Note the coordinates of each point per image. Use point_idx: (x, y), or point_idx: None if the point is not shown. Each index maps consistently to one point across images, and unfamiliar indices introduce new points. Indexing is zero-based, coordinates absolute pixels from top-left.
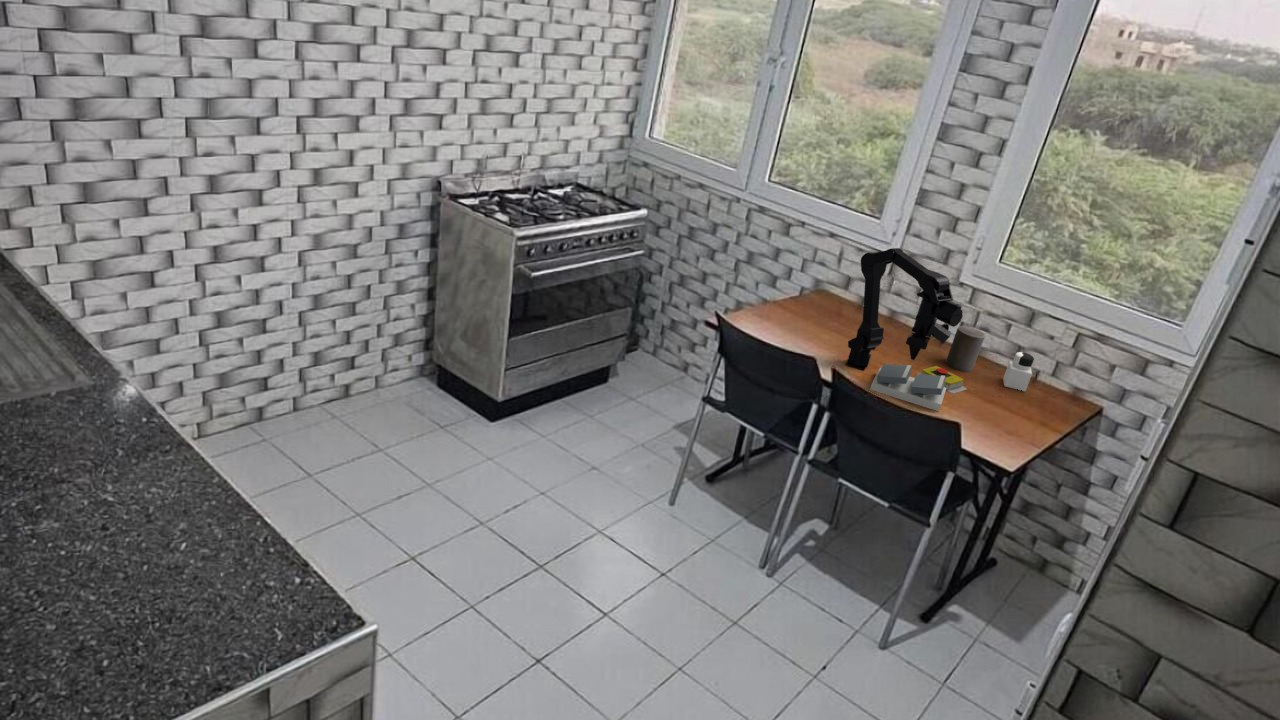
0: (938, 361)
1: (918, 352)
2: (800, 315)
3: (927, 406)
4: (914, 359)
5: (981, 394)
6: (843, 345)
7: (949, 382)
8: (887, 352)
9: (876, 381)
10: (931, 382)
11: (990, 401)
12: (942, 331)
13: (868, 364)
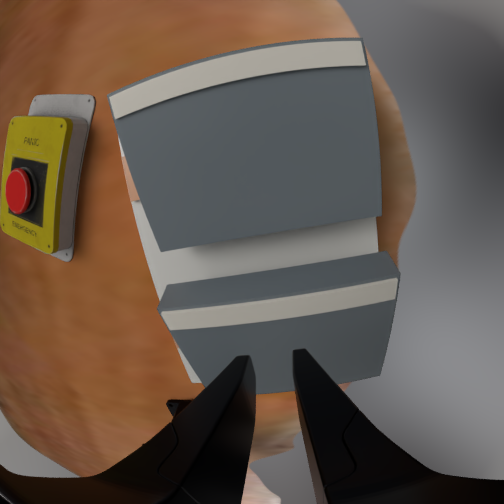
0: None
1: (356, 410)
2: None
3: None
4: (307, 350)
5: (40, 56)
6: (128, 441)
7: (59, 126)
8: (47, 361)
9: None
10: (263, 123)
11: (67, 16)
12: None
13: (182, 403)
